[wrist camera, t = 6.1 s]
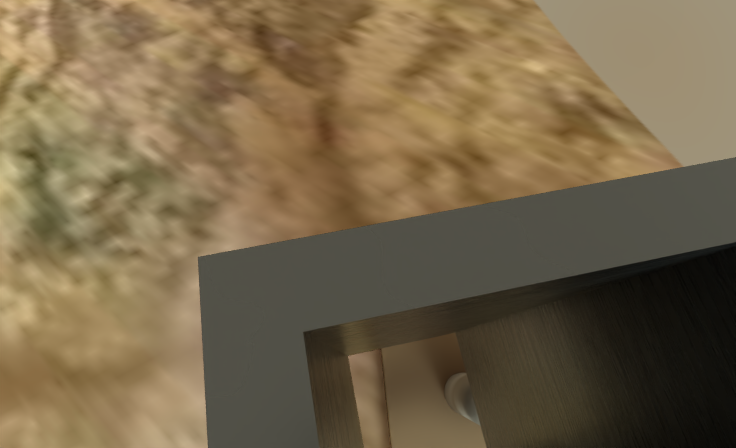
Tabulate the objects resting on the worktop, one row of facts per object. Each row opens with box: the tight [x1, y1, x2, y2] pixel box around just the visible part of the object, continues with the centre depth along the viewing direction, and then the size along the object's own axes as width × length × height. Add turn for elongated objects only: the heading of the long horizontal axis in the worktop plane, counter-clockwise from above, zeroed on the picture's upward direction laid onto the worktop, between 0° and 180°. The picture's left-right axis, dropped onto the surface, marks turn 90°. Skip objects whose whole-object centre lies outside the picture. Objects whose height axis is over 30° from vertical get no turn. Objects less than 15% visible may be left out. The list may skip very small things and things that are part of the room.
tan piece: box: [381, 333, 486, 448], centre depth 18 cm, size 8×8×5 cm
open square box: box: [198, 157, 736, 448], centre depth 8 cm, size 6×6×12 cm
